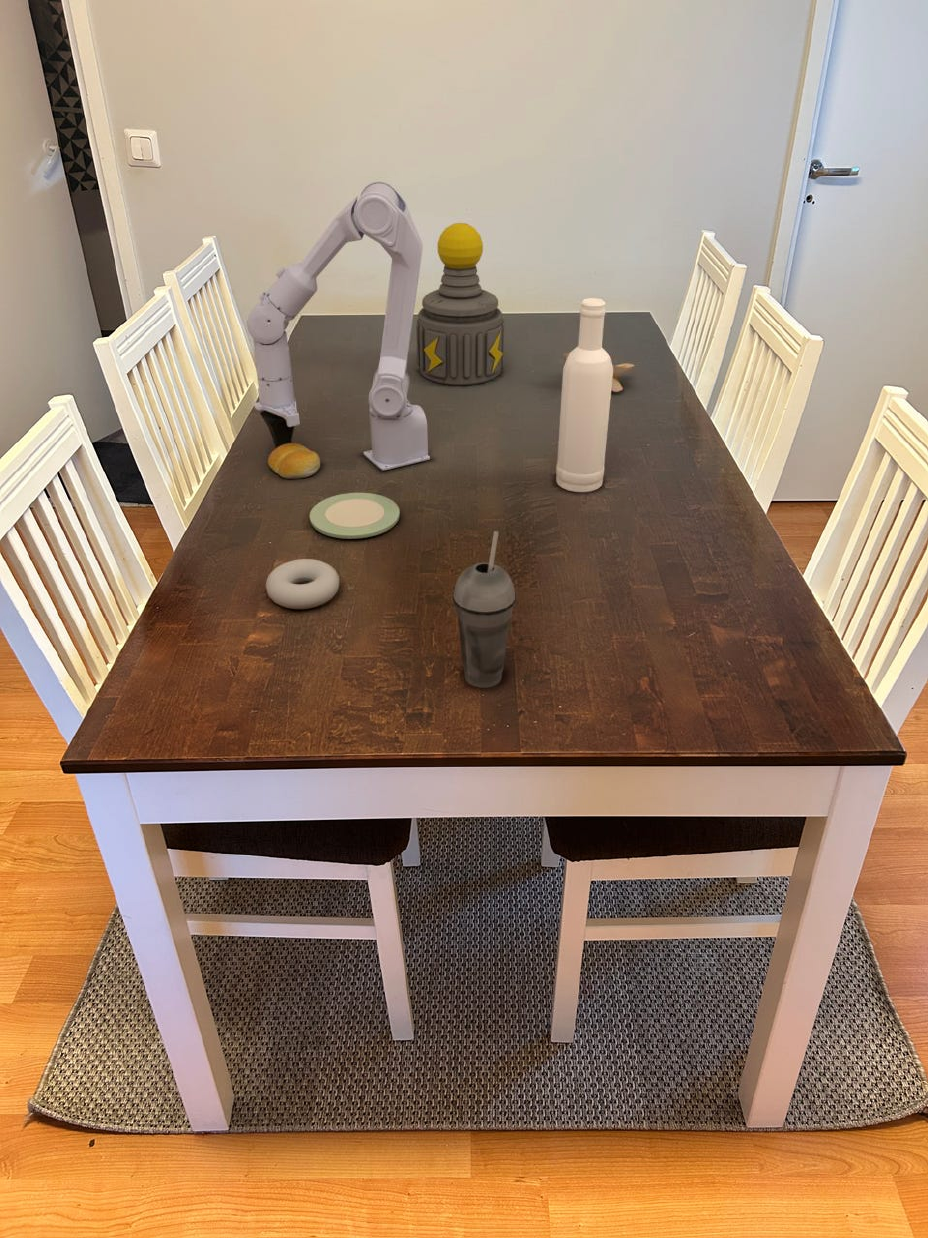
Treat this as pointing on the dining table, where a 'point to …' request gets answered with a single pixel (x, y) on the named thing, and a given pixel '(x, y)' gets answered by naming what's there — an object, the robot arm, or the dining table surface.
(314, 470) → the bread roll
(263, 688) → the dining table surface
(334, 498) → the plate
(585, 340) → the bottle
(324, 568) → the donut
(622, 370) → the decorative flower
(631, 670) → the dining table surface
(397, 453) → the robot arm
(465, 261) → the decorative lamp
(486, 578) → the beverage cup
